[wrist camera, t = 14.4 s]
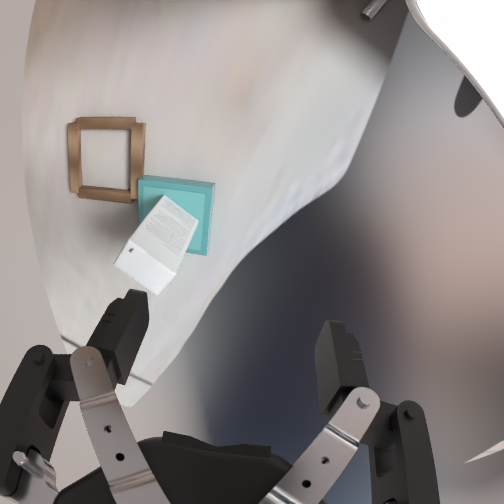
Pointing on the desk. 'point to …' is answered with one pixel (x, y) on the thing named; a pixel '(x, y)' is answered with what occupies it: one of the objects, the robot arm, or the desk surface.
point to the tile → (181, 204)
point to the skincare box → (158, 245)
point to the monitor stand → (465, 40)
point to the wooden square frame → (136, 157)
